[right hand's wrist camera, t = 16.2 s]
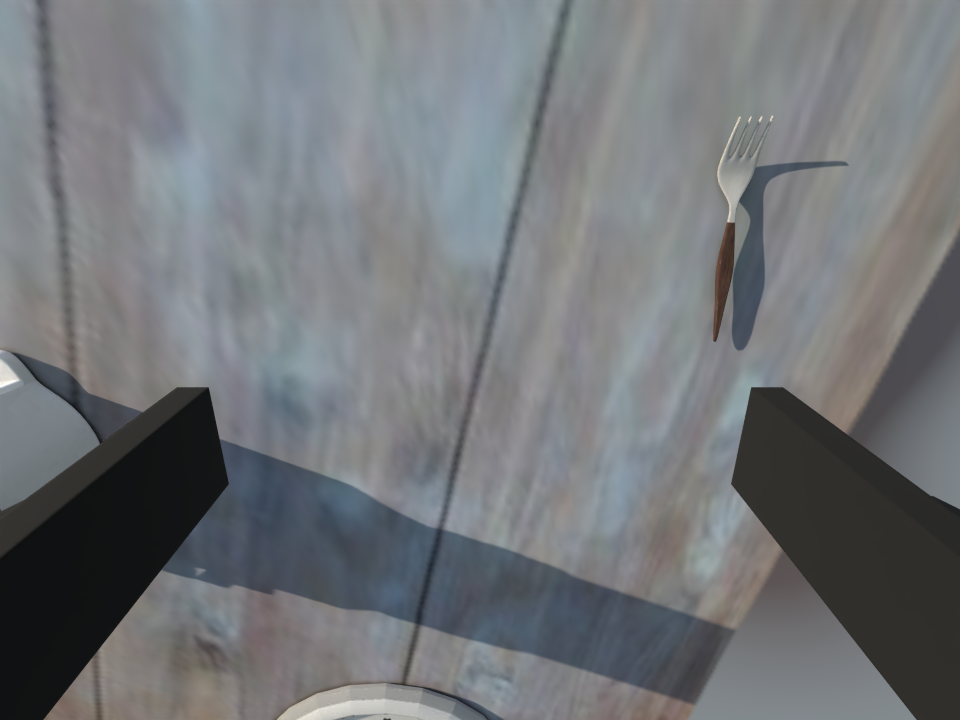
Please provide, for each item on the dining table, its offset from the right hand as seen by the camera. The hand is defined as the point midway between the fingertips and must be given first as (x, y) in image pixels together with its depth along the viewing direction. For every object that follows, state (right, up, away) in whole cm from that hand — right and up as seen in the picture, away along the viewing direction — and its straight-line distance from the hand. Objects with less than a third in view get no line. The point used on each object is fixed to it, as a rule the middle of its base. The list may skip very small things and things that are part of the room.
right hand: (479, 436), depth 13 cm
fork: (+18, +11, +25) cm, 33 cm away
